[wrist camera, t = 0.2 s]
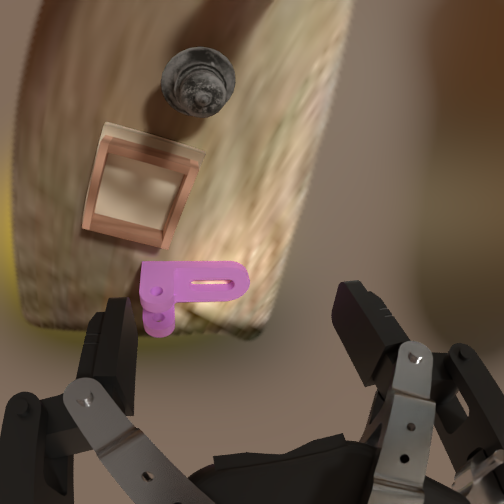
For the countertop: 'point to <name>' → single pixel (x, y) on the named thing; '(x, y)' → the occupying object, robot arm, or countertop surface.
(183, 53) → the salt shaker
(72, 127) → the countertop surface
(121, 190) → the shaker holder
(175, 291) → the bracket
